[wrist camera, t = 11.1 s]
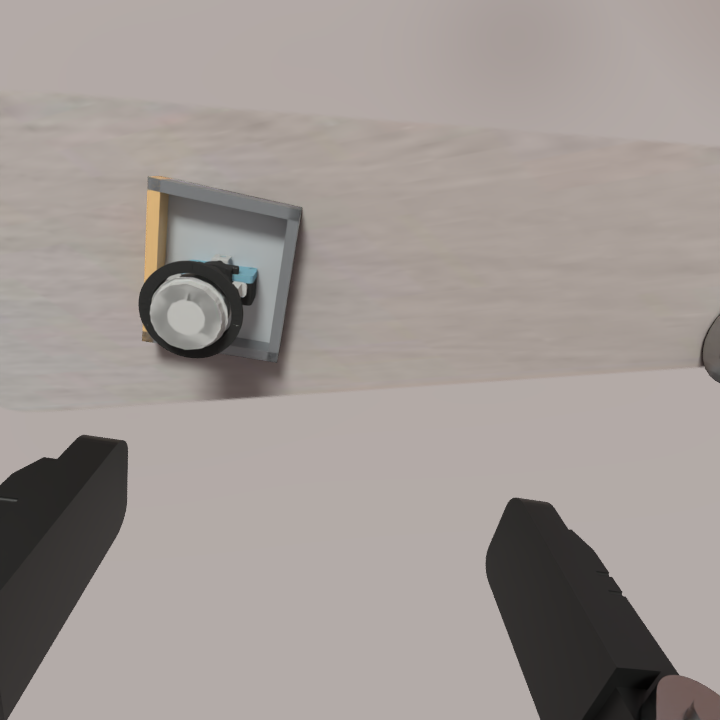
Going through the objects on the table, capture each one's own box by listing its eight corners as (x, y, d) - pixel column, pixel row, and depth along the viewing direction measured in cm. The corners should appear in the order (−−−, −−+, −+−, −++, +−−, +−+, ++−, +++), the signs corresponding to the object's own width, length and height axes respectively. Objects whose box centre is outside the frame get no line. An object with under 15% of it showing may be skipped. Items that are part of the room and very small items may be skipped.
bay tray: (302, 207, 31) (301, 210, 29) (279, 350, 35) (276, 362, 33) (160, 176, 29) (147, 176, 27) (153, 329, 34) (142, 340, 31)
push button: (166, 303, 32) (105, 356, 23) (166, 228, 30) (99, 254, 21) (259, 315, 33) (236, 370, 24) (264, 243, 31) (242, 273, 22)
